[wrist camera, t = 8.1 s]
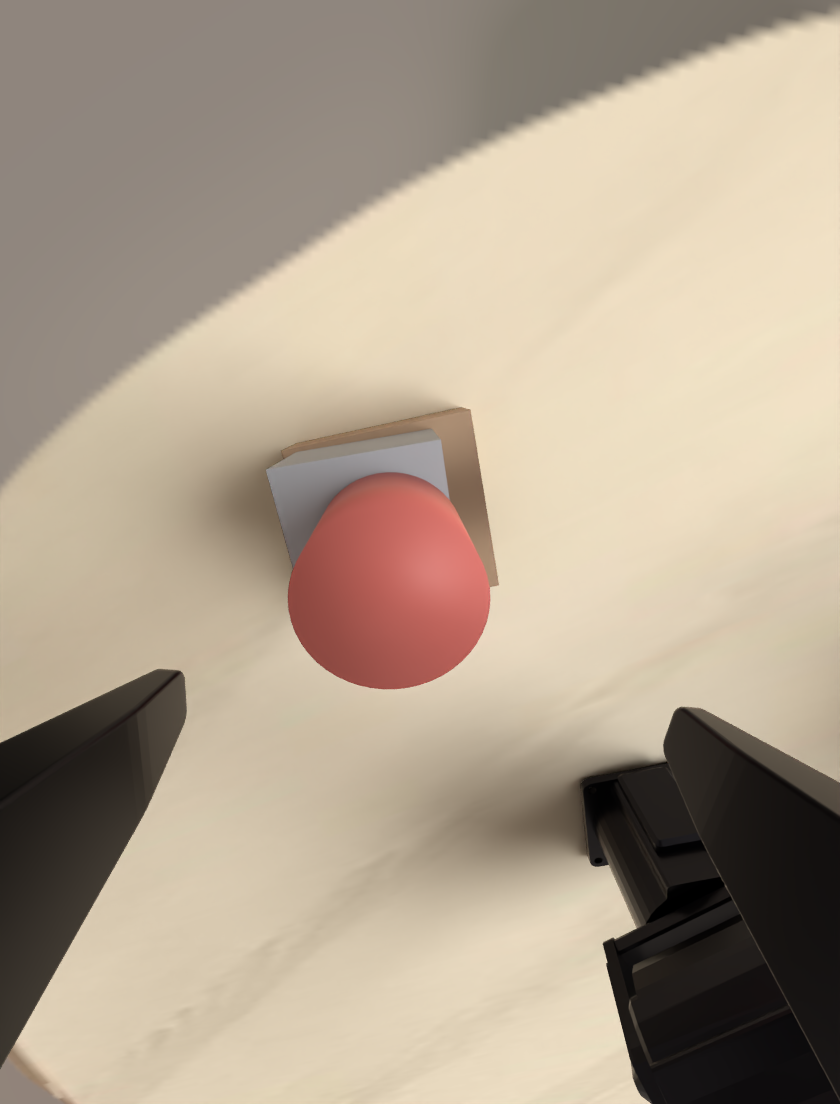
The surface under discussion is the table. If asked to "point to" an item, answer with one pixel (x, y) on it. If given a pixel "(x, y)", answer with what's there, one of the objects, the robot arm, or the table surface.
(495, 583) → the walnut slab
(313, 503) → the grey block
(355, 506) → the red cylinder
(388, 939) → the table surface
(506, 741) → the table surface
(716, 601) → the table surface
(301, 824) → the table surface
